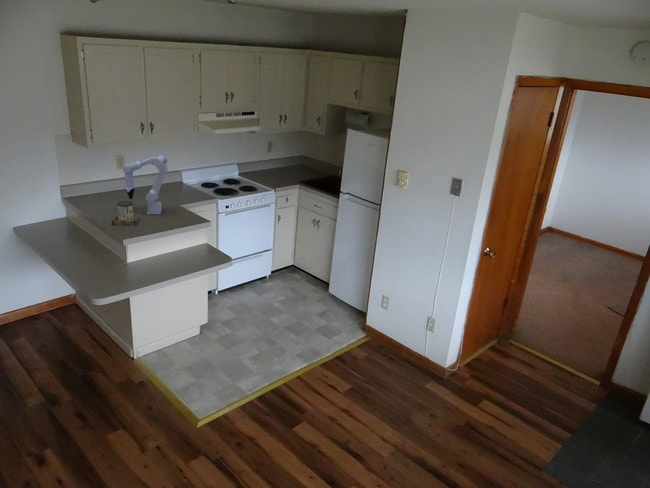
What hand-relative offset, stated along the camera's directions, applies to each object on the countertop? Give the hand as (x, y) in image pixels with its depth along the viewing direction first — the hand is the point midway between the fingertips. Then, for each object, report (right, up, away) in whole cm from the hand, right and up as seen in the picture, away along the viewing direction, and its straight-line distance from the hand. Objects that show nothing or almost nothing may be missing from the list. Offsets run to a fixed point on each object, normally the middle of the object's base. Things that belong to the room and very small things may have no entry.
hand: (131, 198), depth 368 cm
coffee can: (+4, -18, -18) cm, 26 cm away
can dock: (+4, -18, -19) cm, 27 cm away
